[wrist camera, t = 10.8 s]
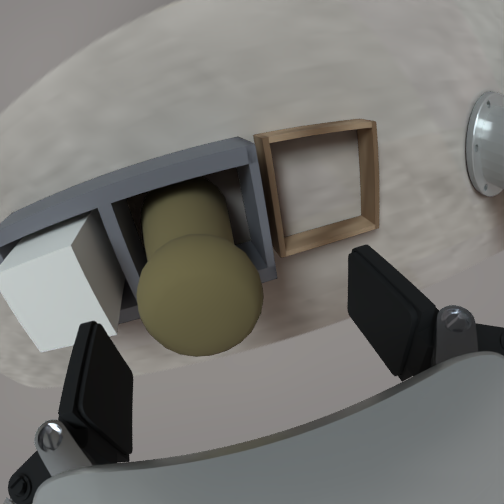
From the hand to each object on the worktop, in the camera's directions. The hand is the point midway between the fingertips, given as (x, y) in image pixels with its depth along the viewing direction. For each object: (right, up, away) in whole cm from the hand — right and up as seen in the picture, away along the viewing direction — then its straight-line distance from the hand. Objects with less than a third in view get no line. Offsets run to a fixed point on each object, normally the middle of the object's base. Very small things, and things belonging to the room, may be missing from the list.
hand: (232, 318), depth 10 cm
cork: (-4, +5, +10) cm, 12 cm away
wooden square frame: (+5, +8, +11) cm, 14 cm away
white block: (-12, +3, +8) cm, 15 cm away
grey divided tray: (-8, +4, +9) cm, 12 cm away
